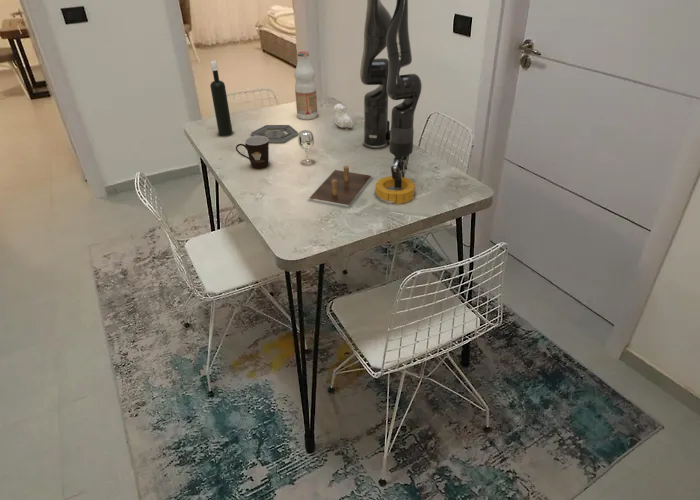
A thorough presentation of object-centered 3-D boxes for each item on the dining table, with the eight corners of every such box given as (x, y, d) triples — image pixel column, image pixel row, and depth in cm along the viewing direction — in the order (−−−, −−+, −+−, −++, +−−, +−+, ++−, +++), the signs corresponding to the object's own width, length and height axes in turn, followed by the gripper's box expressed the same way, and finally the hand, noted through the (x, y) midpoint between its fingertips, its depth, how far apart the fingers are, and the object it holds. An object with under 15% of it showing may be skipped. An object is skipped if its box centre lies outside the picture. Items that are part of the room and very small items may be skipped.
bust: (336, 126, 221) (321, 110, 213) (348, 114, 220) (333, 97, 213) (349, 135, 212) (334, 118, 204) (361, 122, 212) (346, 105, 204)
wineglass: (313, 166, 183) (311, 136, 176) (298, 165, 184) (295, 135, 177) (317, 159, 188) (315, 129, 181) (302, 158, 189) (300, 129, 182)
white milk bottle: (296, 120, 222) (291, 55, 206) (297, 112, 230) (292, 50, 214) (317, 119, 222) (313, 55, 206) (317, 112, 230) (314, 49, 214)
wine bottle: (235, 132, 211) (223, 60, 194) (226, 137, 207) (213, 63, 190) (225, 130, 214) (213, 58, 196) (216, 134, 210) (202, 61, 192)
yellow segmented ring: (398, 182, 172) (398, 172, 170) (421, 196, 163) (422, 187, 161) (368, 192, 166) (368, 182, 164) (391, 207, 157) (391, 197, 155)
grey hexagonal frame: (255, 126, 216) (254, 125, 215) (300, 126, 215) (300, 124, 215) (247, 142, 202) (247, 140, 201) (295, 142, 201) (295, 140, 201)
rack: (335, 172, 179) (334, 156, 175) (371, 178, 174) (371, 162, 171) (309, 200, 162) (308, 183, 159) (348, 207, 158) (348, 190, 154)
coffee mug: (275, 162, 186) (273, 137, 180) (263, 172, 180) (260, 146, 174) (250, 157, 190) (246, 133, 184) (237, 166, 184) (233, 141, 178)
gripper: (406, 148, 152) (404, 197, 162) (418, 131, 162) (415, 178, 172) (383, 144, 154) (382, 193, 164) (396, 129, 165) (394, 175, 175)
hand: (399, 185), depth 168 cm, fingers closed on yellow segmented ring, 2 cm apart
